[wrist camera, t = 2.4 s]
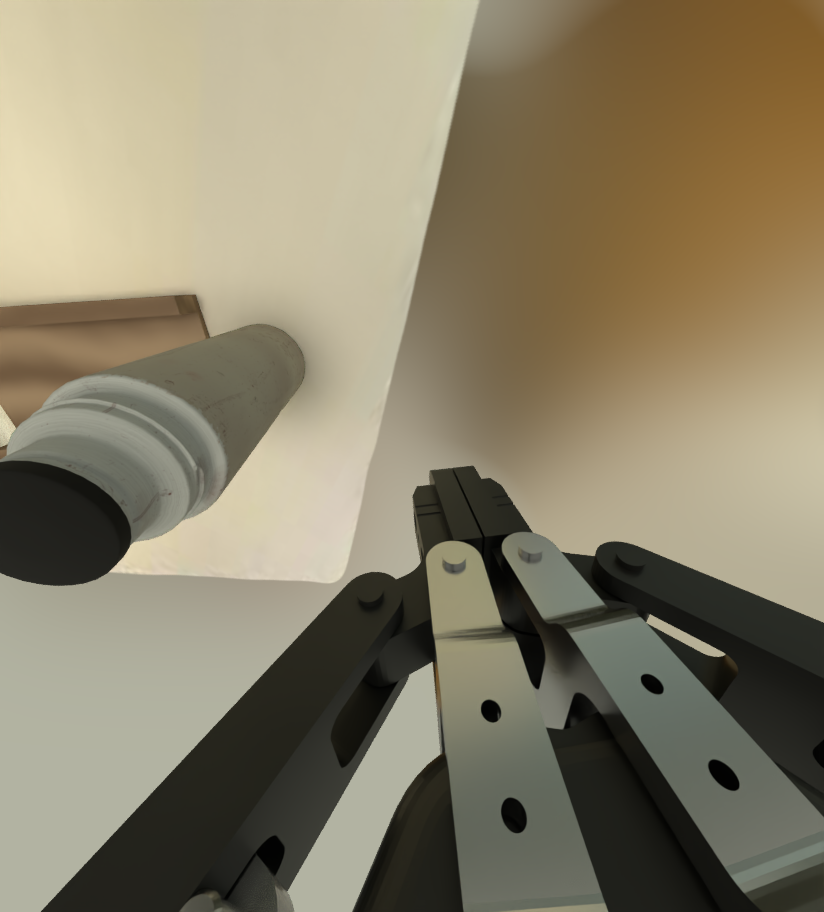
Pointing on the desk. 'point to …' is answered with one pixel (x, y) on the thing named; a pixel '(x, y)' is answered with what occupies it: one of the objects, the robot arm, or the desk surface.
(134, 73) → the desk surface
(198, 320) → the walnut trough
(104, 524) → the thermos bottle
